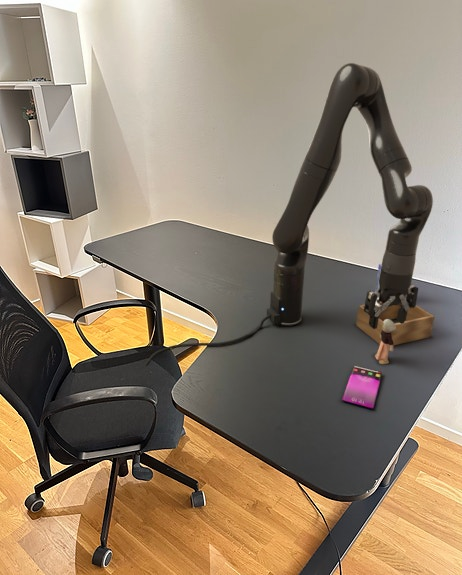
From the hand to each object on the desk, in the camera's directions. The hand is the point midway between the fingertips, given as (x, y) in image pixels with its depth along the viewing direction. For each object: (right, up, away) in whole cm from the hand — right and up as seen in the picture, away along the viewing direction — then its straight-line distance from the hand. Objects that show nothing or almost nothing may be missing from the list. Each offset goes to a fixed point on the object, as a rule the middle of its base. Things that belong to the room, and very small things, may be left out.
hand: (386, 324), depth 115 cm
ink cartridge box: (+15, +5, +39) cm, 42 cm away
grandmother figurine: (+1, -10, +5) cm, 12 cm away
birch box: (+9, -4, +19) cm, 21 cm away
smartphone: (-8, -15, -5) cm, 18 cm away
